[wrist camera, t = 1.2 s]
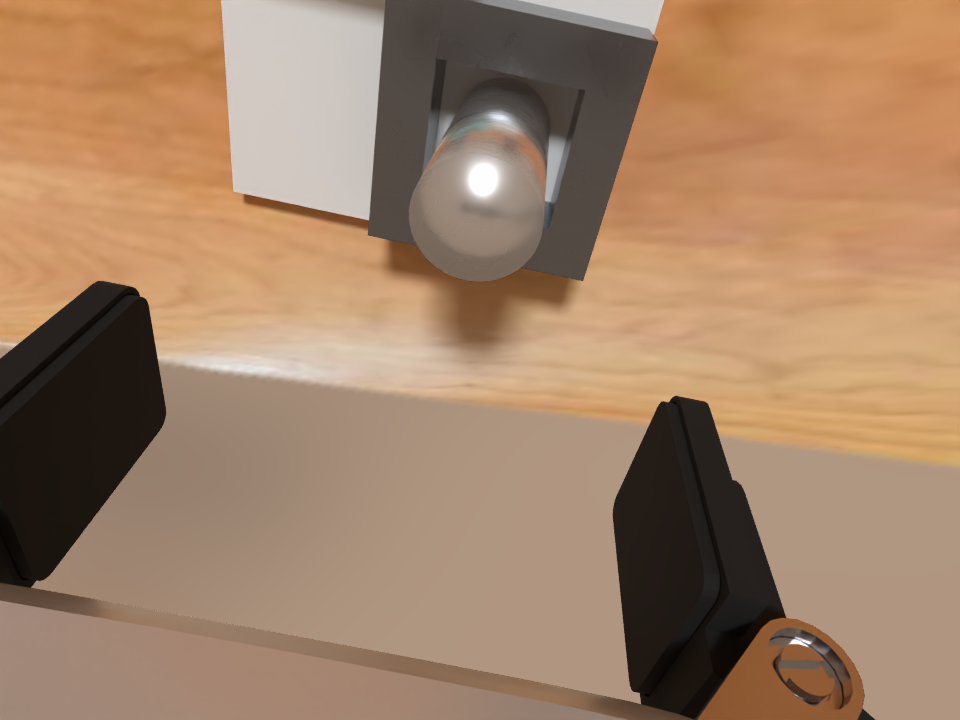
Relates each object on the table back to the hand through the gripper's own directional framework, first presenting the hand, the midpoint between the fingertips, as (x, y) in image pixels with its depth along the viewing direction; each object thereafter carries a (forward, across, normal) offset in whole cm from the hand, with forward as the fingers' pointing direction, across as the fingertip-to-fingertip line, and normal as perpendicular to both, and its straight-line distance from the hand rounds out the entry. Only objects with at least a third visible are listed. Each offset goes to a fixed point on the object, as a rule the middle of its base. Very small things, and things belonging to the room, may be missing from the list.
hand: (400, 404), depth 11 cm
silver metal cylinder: (+19, -1, 0) cm, 19 cm away
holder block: (+19, -1, 0) cm, 19 cm away
